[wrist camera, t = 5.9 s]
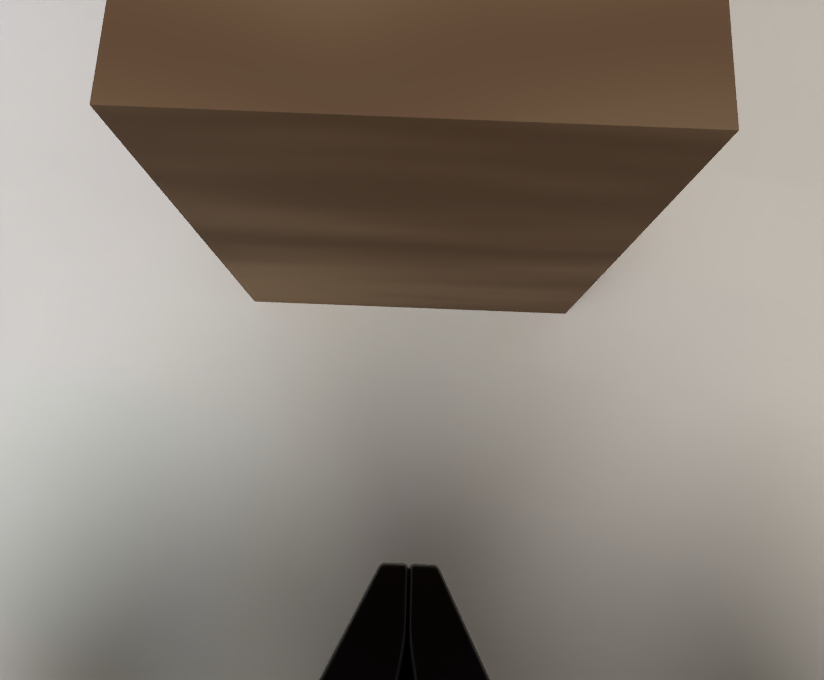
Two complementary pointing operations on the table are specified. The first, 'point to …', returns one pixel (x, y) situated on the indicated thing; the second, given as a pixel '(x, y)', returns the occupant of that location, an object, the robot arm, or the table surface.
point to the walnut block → (419, 137)
